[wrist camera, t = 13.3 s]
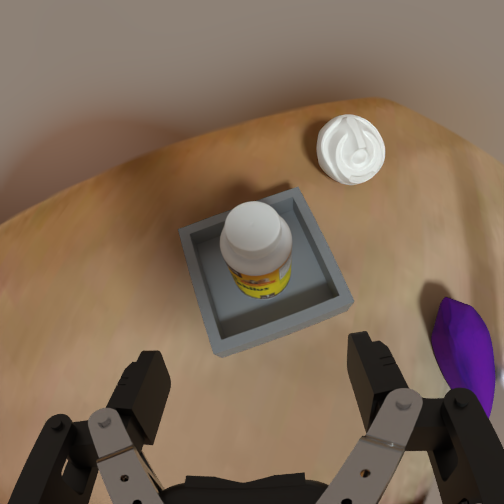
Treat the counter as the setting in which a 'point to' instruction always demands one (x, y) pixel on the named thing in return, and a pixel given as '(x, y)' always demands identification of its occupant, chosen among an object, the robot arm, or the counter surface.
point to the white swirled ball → (350, 149)
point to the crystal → (464, 350)
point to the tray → (270, 310)
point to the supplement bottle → (257, 249)
